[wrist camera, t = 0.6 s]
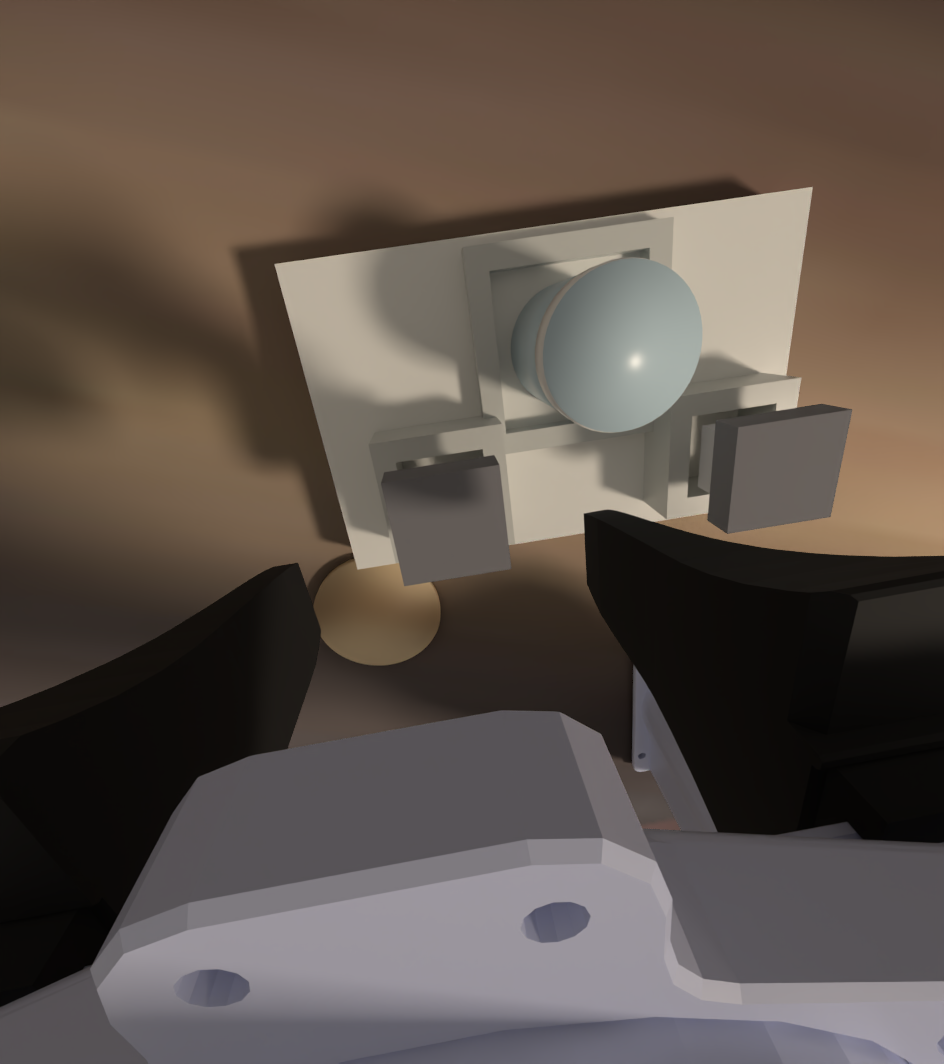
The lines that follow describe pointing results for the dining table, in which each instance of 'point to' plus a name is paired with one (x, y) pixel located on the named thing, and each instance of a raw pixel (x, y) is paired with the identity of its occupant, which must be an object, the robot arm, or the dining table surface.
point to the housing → (491, 382)
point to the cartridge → (610, 344)
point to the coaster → (376, 614)
